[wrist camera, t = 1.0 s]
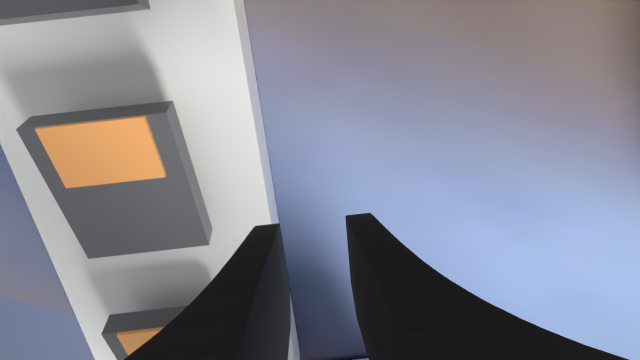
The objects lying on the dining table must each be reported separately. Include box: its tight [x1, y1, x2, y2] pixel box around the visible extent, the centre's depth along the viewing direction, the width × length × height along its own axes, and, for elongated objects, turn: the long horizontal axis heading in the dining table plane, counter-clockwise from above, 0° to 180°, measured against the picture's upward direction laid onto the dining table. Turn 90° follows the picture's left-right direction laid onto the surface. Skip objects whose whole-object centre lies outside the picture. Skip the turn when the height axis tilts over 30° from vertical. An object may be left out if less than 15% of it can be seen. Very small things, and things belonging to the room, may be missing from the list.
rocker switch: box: [101, 306, 187, 360], centre depth 20 cm, size 6×5×1 cm
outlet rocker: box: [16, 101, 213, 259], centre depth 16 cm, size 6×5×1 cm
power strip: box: [0, 0, 300, 360], centre depth 19 cm, size 31×10×3 cm, turn 6°
